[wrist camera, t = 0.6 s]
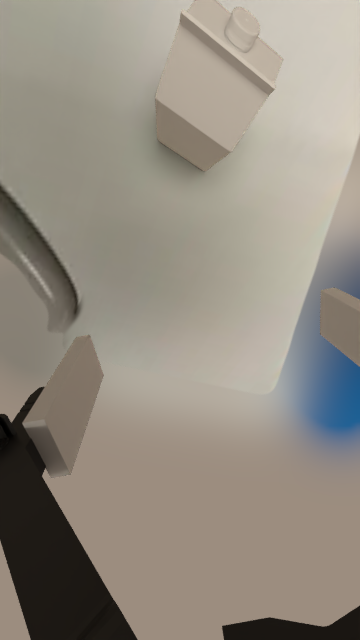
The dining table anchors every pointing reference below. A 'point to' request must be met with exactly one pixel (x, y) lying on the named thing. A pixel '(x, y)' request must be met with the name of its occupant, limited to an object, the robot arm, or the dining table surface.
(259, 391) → the dining table surface
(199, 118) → the milk carton
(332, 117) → the dining table surface
